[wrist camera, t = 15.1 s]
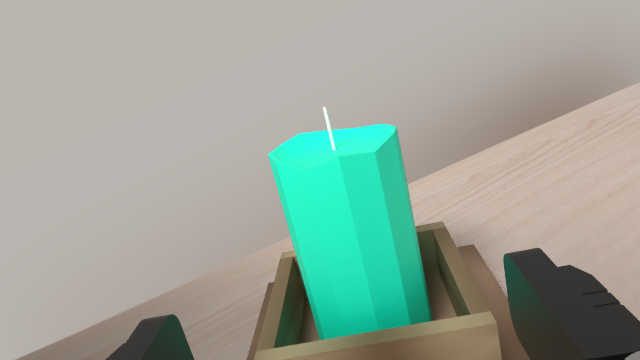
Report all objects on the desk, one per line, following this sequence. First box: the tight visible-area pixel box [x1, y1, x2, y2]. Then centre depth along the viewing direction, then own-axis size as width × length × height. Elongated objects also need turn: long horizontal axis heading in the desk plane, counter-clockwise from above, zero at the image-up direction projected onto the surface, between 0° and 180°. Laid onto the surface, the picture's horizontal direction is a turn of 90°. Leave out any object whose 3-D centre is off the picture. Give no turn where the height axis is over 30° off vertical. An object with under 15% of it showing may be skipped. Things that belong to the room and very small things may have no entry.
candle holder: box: [247, 221, 530, 360], centre depth 24 cm, size 14×14×4 cm
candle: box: [268, 107, 432, 340], centre depth 22 cm, size 6×6×12 cm
